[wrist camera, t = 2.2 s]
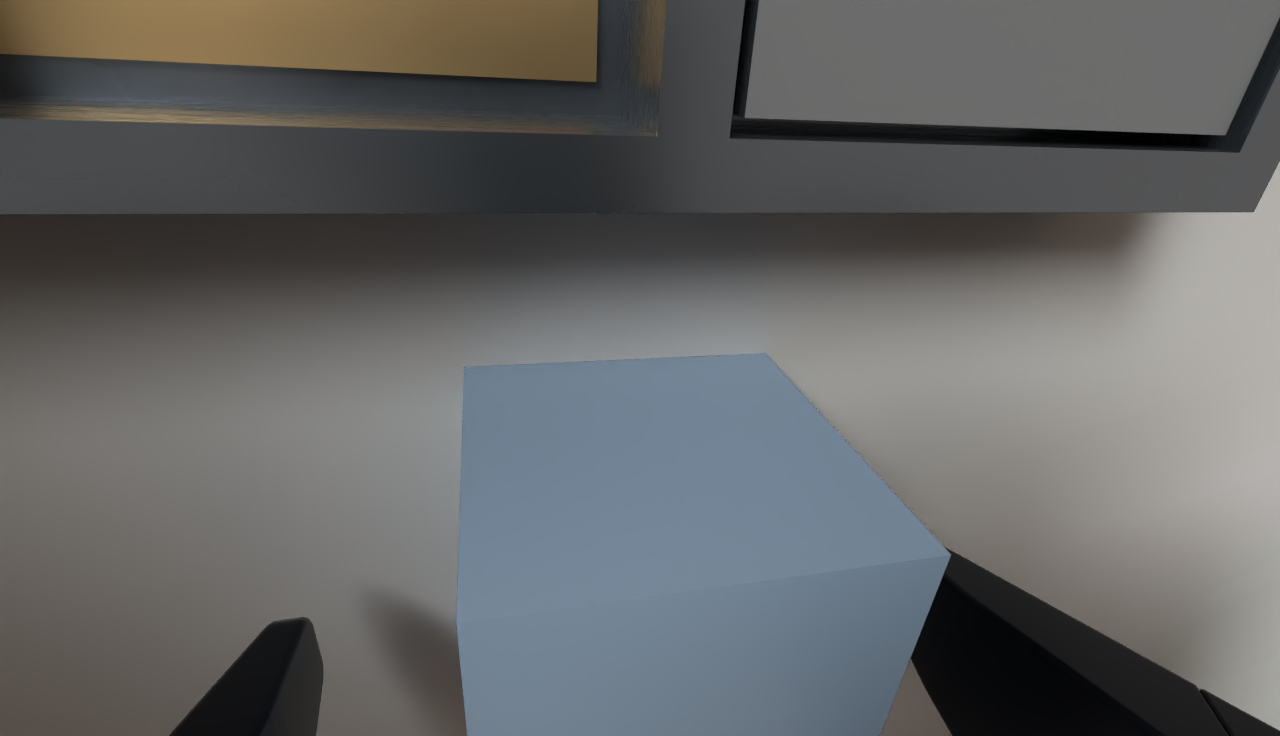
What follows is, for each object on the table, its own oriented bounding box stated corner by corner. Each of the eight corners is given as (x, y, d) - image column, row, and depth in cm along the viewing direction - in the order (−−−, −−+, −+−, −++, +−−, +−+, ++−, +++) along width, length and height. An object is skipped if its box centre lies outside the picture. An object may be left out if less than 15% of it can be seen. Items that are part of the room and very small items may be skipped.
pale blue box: (761, 349, 9) (950, 554, 5) (710, 643, 11) (813, 905, 8) (464, 362, 8) (455, 623, 4) (487, 679, 10) (492, 994, 7)
